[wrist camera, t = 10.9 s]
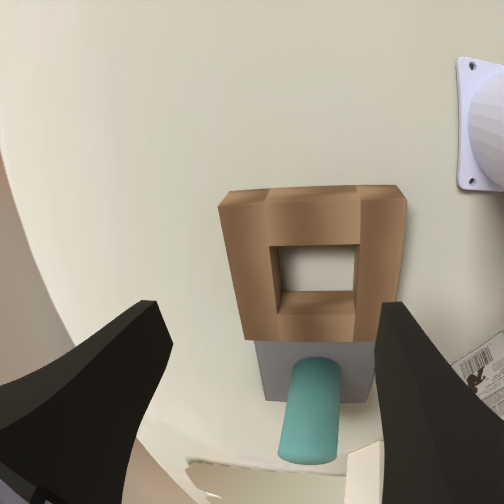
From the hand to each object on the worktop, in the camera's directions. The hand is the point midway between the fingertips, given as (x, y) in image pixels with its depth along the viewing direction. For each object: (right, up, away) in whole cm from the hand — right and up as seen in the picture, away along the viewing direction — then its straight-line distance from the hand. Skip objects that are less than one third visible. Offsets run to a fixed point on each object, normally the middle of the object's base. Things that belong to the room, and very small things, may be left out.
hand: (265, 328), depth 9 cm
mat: (+5, -8, +16) cm, 18 cm away
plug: (+5, -8, +15) cm, 18 cm away
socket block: (+4, +2, +10) cm, 11 cm away
